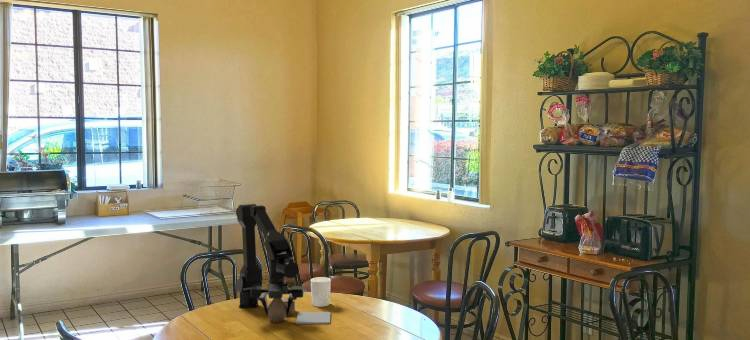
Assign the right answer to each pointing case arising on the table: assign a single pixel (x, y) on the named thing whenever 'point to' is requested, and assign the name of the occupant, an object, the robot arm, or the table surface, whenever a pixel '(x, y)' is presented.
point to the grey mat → (313, 318)
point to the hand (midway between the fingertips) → (277, 315)
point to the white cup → (320, 291)
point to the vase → (277, 310)
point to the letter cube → (292, 308)
